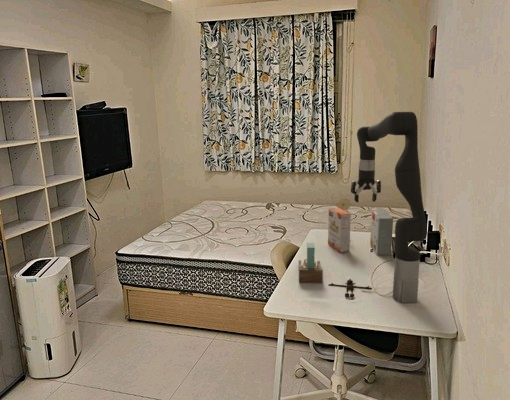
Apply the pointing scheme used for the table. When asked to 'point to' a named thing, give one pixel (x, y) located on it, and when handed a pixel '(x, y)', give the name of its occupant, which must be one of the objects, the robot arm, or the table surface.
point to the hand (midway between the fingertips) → (365, 201)
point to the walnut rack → (310, 274)
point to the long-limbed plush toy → (350, 287)
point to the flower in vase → (343, 204)
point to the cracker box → (339, 229)
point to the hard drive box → (381, 232)
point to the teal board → (310, 255)
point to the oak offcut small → (306, 262)
